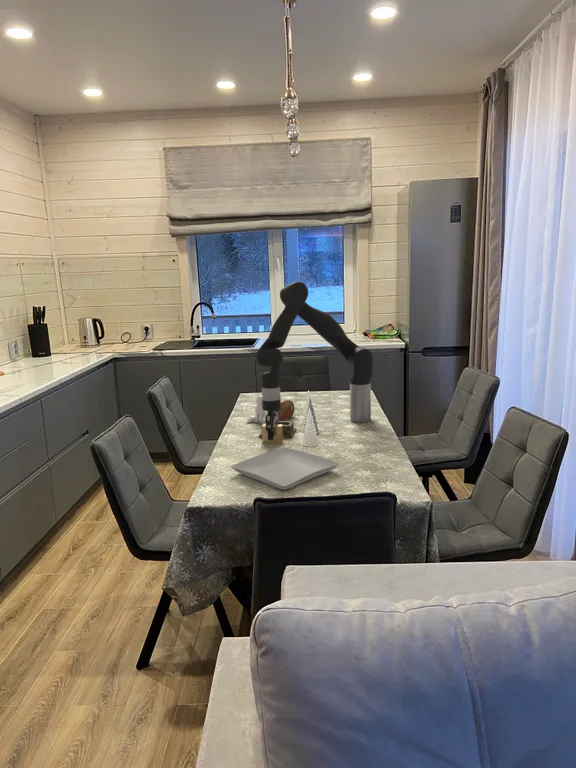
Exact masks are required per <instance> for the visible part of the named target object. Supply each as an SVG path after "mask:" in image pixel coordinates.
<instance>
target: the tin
mask: <svg viewBox="0 0 576 768" xmlns="http://www.w3.org/2000/svg"><path fill="white" fill-rule="evenodd" d="M294 413H295V404H294V401H292V400H291V399H288V400H287V399H286V400H285V399H284V400H282V401H281V409H280V410H278V420H279V421H282V420H283V421H286V420H287V418H288V419H290V418H291V417H292V416H294Z"/></svg>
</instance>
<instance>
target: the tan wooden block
mask: <svg viewBox="0 0 576 768" xmlns="http://www.w3.org/2000/svg"><path fill="white" fill-rule="evenodd" d="M262 424H263V423H262ZM269 428H271V426H269ZM273 429H274V430H273V438H274V439H273V440H268V432H267V431H266V424H263V426H262V425H261V432H262V443H263V444H283V443H284V438H283V424H275V426H274V428H273Z"/></svg>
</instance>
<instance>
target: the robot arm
mask: <svg viewBox="0 0 576 768" xmlns="http://www.w3.org/2000/svg"><path fill="white" fill-rule="evenodd" d="M308 297H309V288H308V287H307V285H306V284H305V283H304V282H303V281H294V282H292V283H290V284H288V285H286V286H284V287H283V288H282V289H280V291H279V299H280V301H281V302H282V304H283V305H284V309H283V310H282V312H280V314H279V316H278V317H277V319H276V320H275V321H274V323H273V324H272V327H271V329H270V333H269V335H268V337H267V339H266V340H265V341H264V342H263V343H262V344H261V346H260V347H259V349H258V350H257V352H256V357H255V358H256V362H257V364H258V365H260V366H262V367H270V369H269V371H265V372H263V373H261V396H262V409H263V410H264V411H266V412H267V415H266V417H265V420H266V431H267V432H268V440H273V439H274V438H273V430H274V429H273V428H274V426H275V424H278V421H279V420H278V410H280V409H281V402H282V401H281V400H282V398H281V388H280V375H281V374H280V373H281V371H282V370H281V369H282V365H283V361H284V355H283V353H282V351H281V350H280V349H282V347H284V346H285V344H286V341H287V339H288V335H289V332H290V331H291V329H292V326H293V323H294V322H295V321H296V320H295V319H296V318H297V316H298V317H300V319H302V320H303V321H304V322H305V323H306V324H307V325H309V326H310V327H311V328H312V329H313V330H314V331H315V332H316V333H317V334H318V335H319V336H320V337H321V338H322V339H323V340H325V341H326V342H327V343H328V344H329V345H331V346H332V347H333V348H335V349H336V350H337V351H338V352H339V353H340V354H341V356H342V357H343V358H344V360H346V361H347V363H348V364H349V365H350V366H351V367H353V373H352V375H351V376H350V377H349V396H350V397H349V399H350V400H349V401H350V403H349V406H350V407H349V408H350V410H349V412H350V413H349V415H350V417H349V418H350V421H351V422H355V423H368V422H370V423H371V422H372V397H371V395H372V389H371V388H372V387H371V386H372V385H371V384H372V383H371V382H372V377H373V372H374V371H373V369H374V358H373V353H372V352H371V351H370V349H368V348H365V347H362V346H359V345H357V344H356V343H355V342H354V341H353V340H351V339H350V338H349V337H348V336H347V334H346V332H345V331H344V329H343V328H342V326H341V325H340V323H339V322H338V321H337V320H336V319H334V318H333V316H332V315H330V314H329V313H327V312H325V311H323V310H320V309H318V308H315V307H313V306H311V305H310V304H308V303H307V302H306V301H307V299H308ZM279 348H280V349H279ZM268 421H269V422H268ZM269 426H271V428H269Z"/></svg>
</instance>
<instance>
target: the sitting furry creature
mask: <svg viewBox="0 0 576 768" xmlns="http://www.w3.org/2000/svg"><path fill="white" fill-rule="evenodd" d="M255 404H256V406H255V409H254V412H255V414H254V415H251V416H250V417H248V418H247V420H246V421H247V422H248V423H250V424H251V423H260V424H263V423H264V422H265V421H266V420H265V417H266V415H267V413H268V412H267V411H264V410H263V409H262V395H258V396H257V397H256V400H255Z"/></svg>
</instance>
